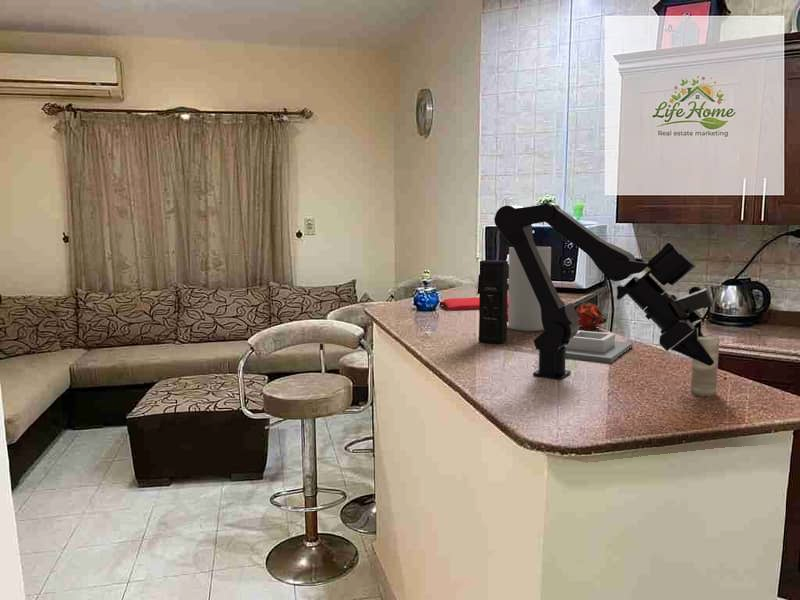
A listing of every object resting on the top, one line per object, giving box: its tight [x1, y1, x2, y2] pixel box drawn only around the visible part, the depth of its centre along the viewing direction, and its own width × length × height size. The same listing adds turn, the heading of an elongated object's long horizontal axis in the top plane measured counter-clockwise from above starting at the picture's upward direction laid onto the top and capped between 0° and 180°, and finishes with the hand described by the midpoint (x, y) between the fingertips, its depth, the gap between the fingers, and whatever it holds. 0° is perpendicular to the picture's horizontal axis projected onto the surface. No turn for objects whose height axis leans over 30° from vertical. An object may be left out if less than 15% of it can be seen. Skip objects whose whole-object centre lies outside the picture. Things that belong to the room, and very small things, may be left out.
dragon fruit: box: [575, 302, 607, 331], centre depth 186 cm, size 8×8×12 cm
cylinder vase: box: [507, 245, 552, 332], centre depth 187 cm, size 12×12×25 cm
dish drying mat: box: [439, 295, 509, 311], centre depth 235 cm, size 16×41×4 cm, turn 99°
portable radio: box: [477, 251, 509, 345], centre depth 168 cm, size 8×6×25 cm
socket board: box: [565, 329, 634, 364], centre depth 156 cm, size 20×16×4 cm
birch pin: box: [690, 335, 720, 397], centre depth 118 cm, size 4×4×11 cm
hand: (713, 361), depth 117 cm, fingers open, 5 cm apart
